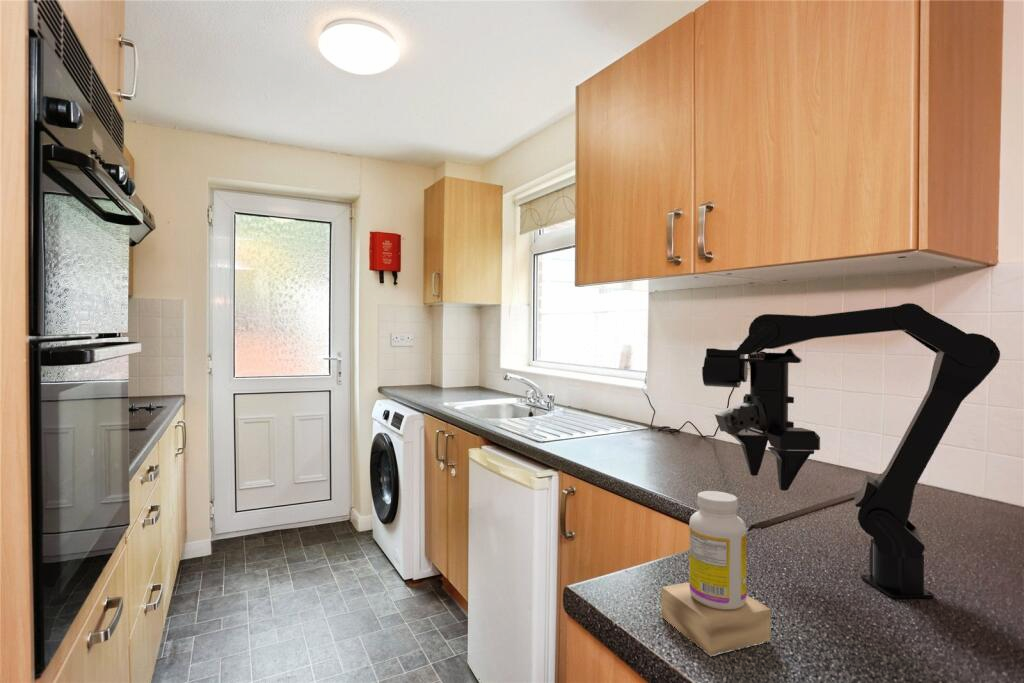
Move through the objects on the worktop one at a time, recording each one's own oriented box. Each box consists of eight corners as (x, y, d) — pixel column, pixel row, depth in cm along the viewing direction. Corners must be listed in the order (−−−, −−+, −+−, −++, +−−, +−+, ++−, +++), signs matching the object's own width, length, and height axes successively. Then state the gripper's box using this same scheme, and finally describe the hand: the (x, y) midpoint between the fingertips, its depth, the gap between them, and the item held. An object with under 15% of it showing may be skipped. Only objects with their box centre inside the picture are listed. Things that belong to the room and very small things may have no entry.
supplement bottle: (724, 584, 67) (725, 487, 68) (758, 609, 61) (759, 502, 61) (678, 588, 66) (679, 489, 66) (708, 614, 60) (709, 505, 60)
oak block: (770, 642, 61) (770, 609, 61) (710, 657, 58) (710, 622, 58) (716, 606, 69) (716, 577, 70) (661, 617, 66) (661, 586, 66)
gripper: (699, 384, 94) (698, 468, 94) (750, 394, 76) (749, 499, 75) (757, 385, 95) (757, 469, 94) (822, 395, 76) (822, 499, 76)
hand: (768, 482), depth 85 cm, fingers open, 9 cm apart
